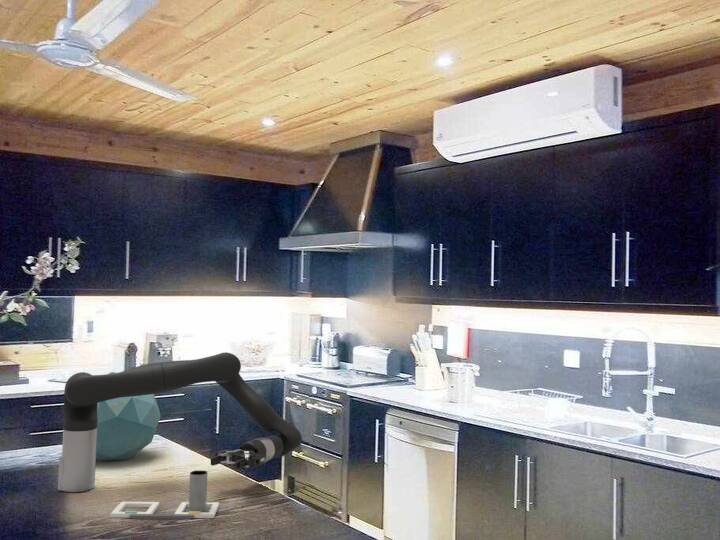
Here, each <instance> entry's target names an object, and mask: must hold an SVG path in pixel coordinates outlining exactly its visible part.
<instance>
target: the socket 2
mask: <svg viewBox="0 0 720 540" xmlns="http://www.w3.org/2000/svg"><path fill="white" fill-rule="evenodd" d="M219 507H220V502H218V501H217V502H214V501H213V502H212V501H211V502H210V501H209V502H207V501H206V509H209V511H206V512H201V511H189V510H188V511H185V510H186V509H189V501H182V502H181V503H180V505H179V506H178V508H177V509H176V510H175V512H174V514H173V515H194V519H214V518H215V516H216V514H217V512H218V509H219Z"/></svg>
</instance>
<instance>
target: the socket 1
mask: <svg viewBox="0 0 720 540" xmlns="http://www.w3.org/2000/svg"><path fill="white" fill-rule="evenodd" d="M159 507H160V501H121V502H120V503H119V504H118V505H117V506H116V507H115V508H114V509H113V510H112V512H110V514H109V515H110V518H114V519H115V518H126V519H129V516H130V515H154V513H156V511H157V510H158V508H159ZM126 508H148V509H147V510H146V511H138V510H126V511H124V510H125V509H126Z"/></svg>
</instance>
